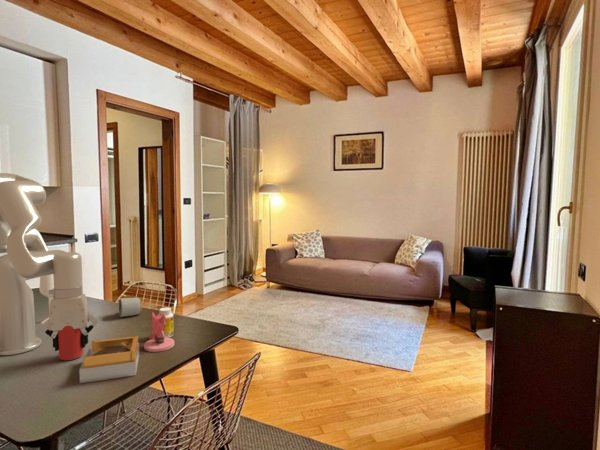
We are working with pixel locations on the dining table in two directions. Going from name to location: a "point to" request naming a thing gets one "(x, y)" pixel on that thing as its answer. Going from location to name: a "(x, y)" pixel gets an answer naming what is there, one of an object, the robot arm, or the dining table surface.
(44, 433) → the dining table surface
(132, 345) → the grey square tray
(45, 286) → the champagne flute
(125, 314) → the ceramic mug
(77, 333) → the beer can
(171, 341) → the toy figure
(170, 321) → the supplement bottle
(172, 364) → the dining table surface
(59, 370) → the dining table surface
